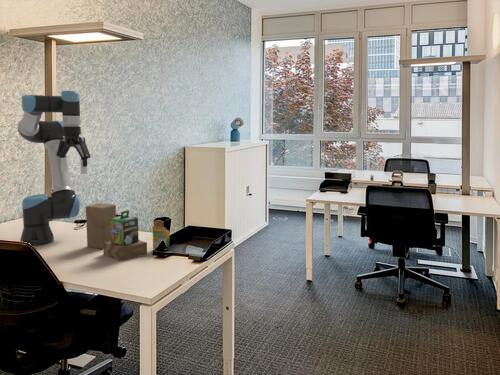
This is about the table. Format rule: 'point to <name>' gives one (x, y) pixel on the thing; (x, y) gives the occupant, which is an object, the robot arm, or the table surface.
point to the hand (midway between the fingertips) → (73, 172)
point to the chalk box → (124, 229)
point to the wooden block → (99, 224)
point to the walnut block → (124, 250)
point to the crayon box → (160, 236)
